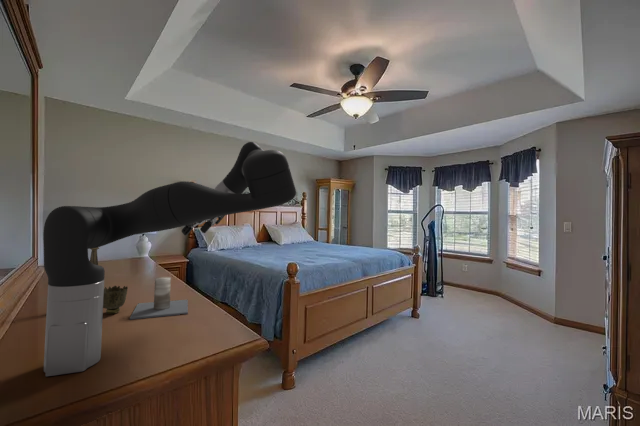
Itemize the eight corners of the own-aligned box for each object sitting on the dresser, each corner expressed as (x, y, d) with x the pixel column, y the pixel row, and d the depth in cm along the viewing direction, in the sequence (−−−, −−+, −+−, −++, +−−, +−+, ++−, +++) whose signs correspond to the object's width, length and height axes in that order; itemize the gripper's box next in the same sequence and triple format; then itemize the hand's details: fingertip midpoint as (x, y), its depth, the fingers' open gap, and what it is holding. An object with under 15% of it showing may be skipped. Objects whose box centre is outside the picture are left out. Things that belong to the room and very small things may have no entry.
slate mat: (187, 314, 96) (187, 312, 96) (129, 319, 89) (129, 317, 89) (187, 301, 110) (187, 299, 110) (138, 305, 104) (138, 303, 104)
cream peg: (169, 309, 98) (170, 279, 98) (152, 310, 96) (154, 279, 96) (170, 305, 102) (171, 276, 103) (154, 306, 101) (155, 277, 101)
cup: (132, 310, 98) (133, 286, 98) (114, 317, 91) (115, 291, 91) (111, 308, 99) (112, 284, 99) (92, 315, 91) (93, 290, 92)
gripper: (216, 205, 85) (184, 243, 89) (243, 205, 99) (214, 238, 102) (201, 187, 87) (169, 225, 90) (229, 190, 100) (201, 222, 104)
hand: (193, 232), depth 96 cm, fingers open, 8 cm apart
